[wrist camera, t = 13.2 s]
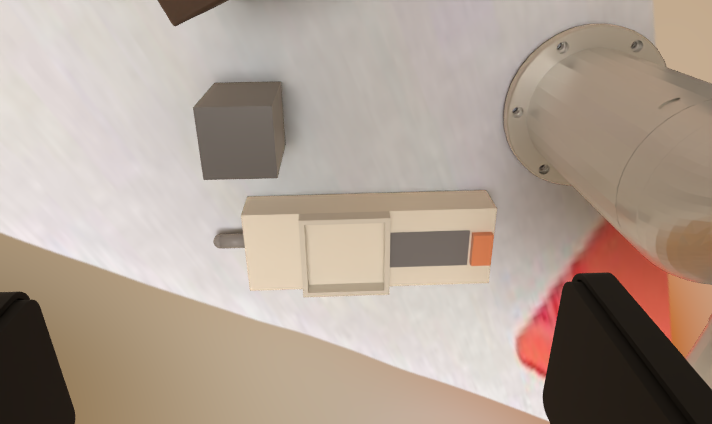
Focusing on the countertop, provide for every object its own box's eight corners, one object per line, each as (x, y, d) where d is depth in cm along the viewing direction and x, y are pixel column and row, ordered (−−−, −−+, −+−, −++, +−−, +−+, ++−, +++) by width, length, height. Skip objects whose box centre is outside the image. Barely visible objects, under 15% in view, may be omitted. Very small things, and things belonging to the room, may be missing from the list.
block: (281, 81, 41) (271, 105, 34) (285, 145, 43) (277, 179, 37) (214, 82, 41) (193, 107, 34) (222, 146, 43) (203, 180, 37)
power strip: (485, 190, 45) (501, 215, 41) (478, 261, 48) (492, 291, 44) (211, 197, 45) (198, 223, 40) (221, 269, 48) (210, 300, 44)
